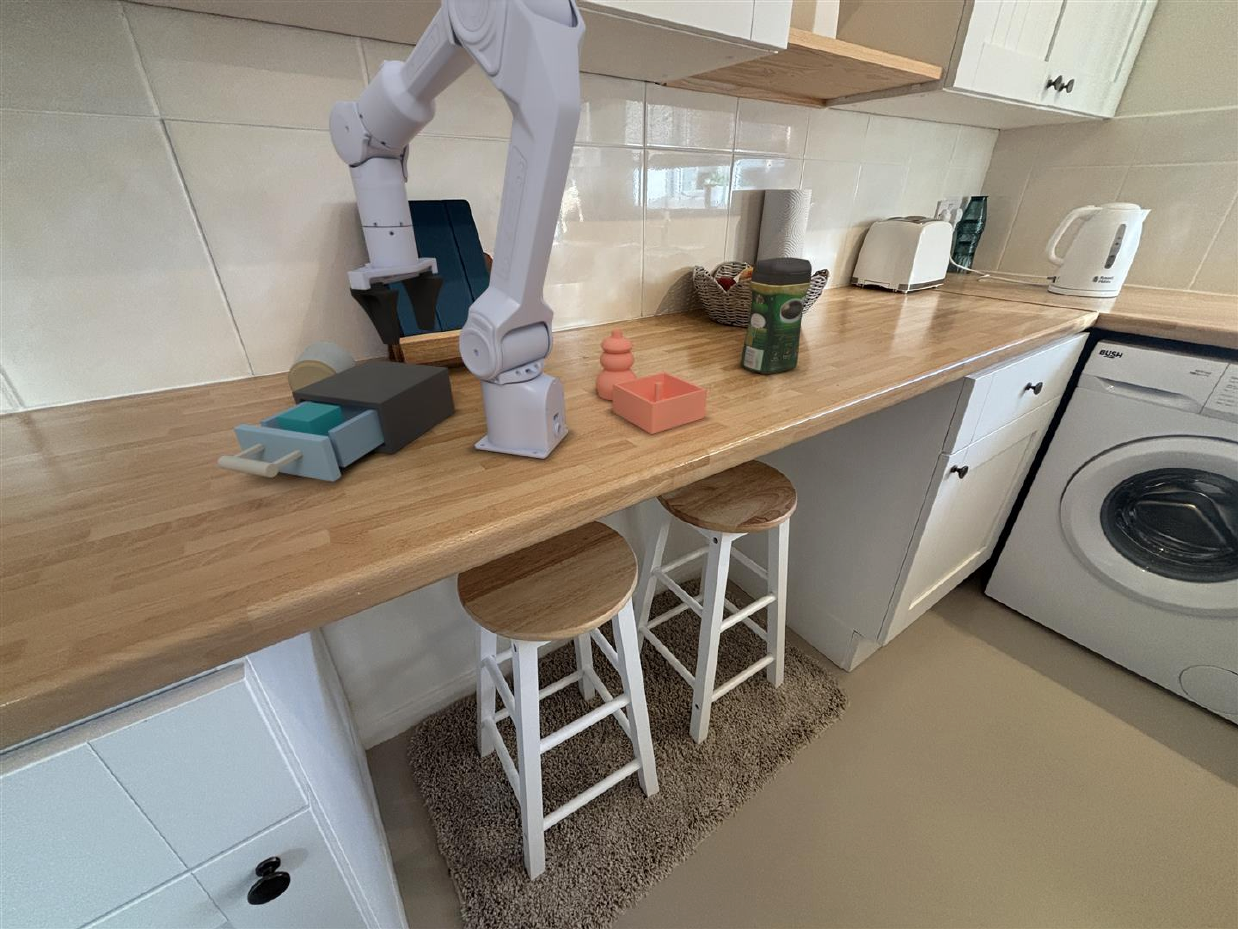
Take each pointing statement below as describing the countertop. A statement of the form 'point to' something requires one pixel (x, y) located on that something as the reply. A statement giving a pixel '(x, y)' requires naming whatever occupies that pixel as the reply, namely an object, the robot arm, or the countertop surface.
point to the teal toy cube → (312, 419)
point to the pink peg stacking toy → (646, 390)
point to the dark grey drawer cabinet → (389, 397)
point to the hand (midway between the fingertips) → (410, 336)
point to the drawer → (305, 446)
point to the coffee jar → (776, 314)
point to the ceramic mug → (319, 364)
